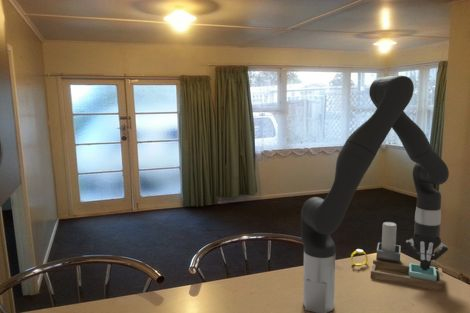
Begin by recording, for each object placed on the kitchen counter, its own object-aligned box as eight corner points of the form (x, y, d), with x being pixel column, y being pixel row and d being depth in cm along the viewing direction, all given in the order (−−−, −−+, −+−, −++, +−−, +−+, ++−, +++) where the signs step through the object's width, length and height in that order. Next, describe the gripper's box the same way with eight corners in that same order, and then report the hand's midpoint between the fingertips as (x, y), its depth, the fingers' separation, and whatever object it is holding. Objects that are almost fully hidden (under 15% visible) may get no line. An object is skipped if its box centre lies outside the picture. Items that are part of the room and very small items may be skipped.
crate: (435, 287, 115) (436, 276, 115) (408, 282, 119) (409, 271, 118) (434, 278, 121) (435, 267, 121) (408, 273, 125) (409, 263, 124)
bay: (443, 292, 113) (444, 281, 113) (370, 279, 123) (370, 268, 122) (440, 278, 122) (441, 268, 121) (372, 267, 132) (373, 257, 131)
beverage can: (392, 251, 135) (394, 221, 134) (397, 257, 131) (398, 226, 129) (379, 251, 136) (381, 221, 134) (383, 256, 131) (385, 225, 129)
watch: (365, 264, 135) (367, 249, 134) (367, 267, 132) (369, 252, 131) (349, 262, 135) (351, 248, 134) (351, 266, 133) (353, 251, 132)
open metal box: (399, 270, 129) (400, 253, 128) (376, 266, 132) (376, 250, 131) (399, 261, 136) (400, 245, 135) (377, 258, 139) (378, 242, 138)
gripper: (405, 221, 116) (403, 270, 119) (452, 226, 110) (448, 278, 113) (405, 215, 123) (403, 261, 126) (449, 219, 117) (446, 268, 120)
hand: (424, 269), depth 119 cm, fingers closed
